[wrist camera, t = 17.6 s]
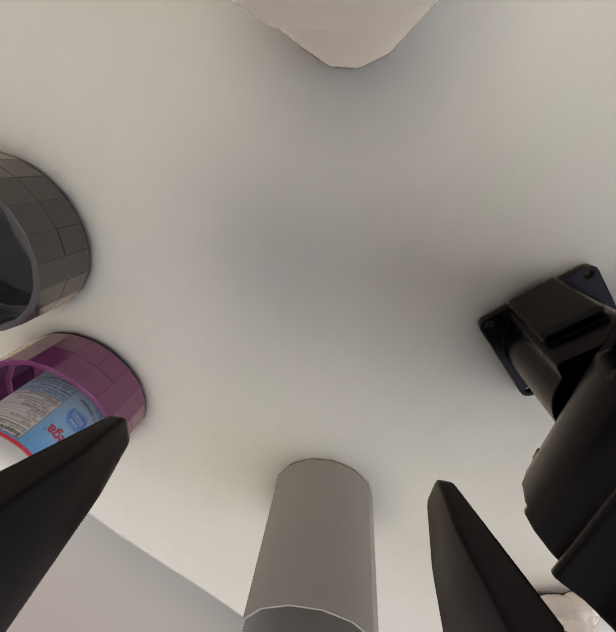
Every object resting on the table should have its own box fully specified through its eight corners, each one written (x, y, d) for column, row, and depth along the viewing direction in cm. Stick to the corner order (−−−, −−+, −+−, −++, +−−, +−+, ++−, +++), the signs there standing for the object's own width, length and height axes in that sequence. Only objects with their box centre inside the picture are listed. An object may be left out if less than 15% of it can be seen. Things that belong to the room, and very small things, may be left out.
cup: (278, 519, 31) (246, 664, 22) (271, 455, 28) (231, 596, 19) (370, 530, 30) (375, 686, 21) (375, 464, 27) (384, 618, 18)
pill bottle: (120, 428, 28) (-10, 575, 18) (52, 406, 28) (-116, 541, 18) (123, 372, 26) (-28, 509, 16) (47, 348, 26) (-152, 469, 16)
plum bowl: (172, 404, 27) (144, 442, 23) (99, 451, 31) (65, 490, 27) (70, 306, 24) (20, 332, 21) (3, 371, 28) (-49, 402, 24)
